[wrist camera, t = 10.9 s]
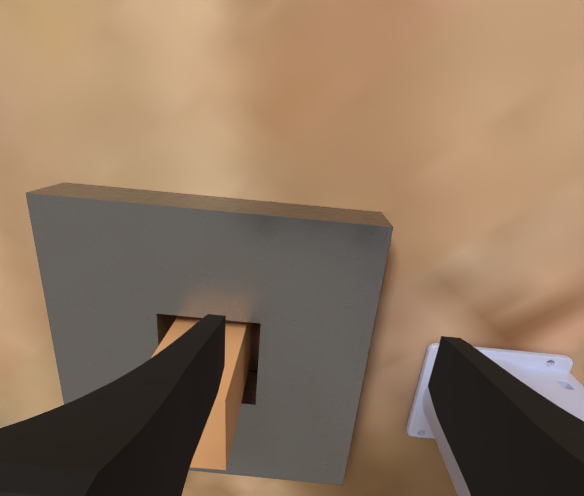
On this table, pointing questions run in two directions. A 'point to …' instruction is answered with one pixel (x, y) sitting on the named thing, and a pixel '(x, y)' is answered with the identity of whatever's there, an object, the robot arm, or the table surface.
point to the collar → (220, 305)
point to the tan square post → (220, 391)
